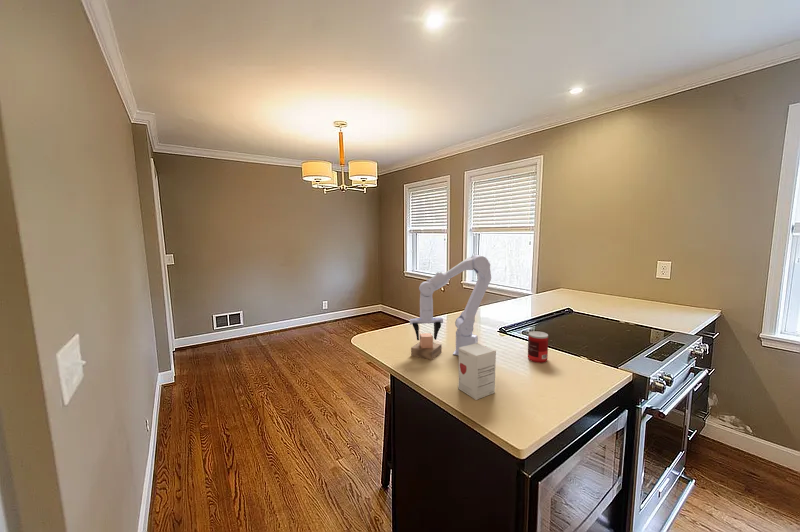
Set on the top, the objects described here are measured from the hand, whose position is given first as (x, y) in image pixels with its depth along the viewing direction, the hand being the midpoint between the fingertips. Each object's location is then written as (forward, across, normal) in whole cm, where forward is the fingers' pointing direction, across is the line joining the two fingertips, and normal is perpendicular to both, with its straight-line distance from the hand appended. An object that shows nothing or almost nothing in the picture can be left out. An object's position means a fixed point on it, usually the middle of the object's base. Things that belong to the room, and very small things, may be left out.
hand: (426, 339), depth 144 cm
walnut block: (+7, 0, 0) cm, 7 cm away
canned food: (+7, -45, +11) cm, 47 cm away
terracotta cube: (+3, 0, 0) cm, 3 cm away
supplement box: (+7, -12, +35) cm, 37 cm away
